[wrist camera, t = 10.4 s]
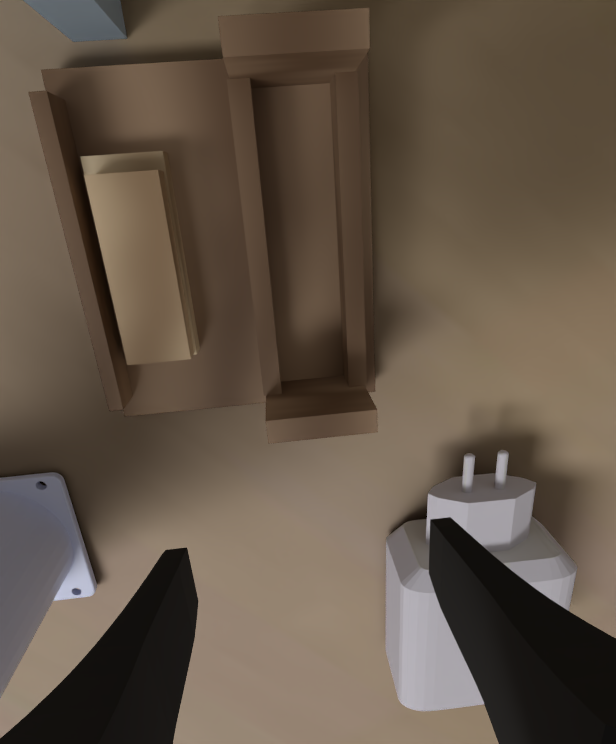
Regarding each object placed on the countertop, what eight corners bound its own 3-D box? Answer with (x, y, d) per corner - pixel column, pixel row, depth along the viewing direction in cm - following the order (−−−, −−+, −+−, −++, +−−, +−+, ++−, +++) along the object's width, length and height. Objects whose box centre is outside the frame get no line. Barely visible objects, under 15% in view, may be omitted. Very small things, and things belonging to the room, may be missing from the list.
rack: (130, 407, 22) (94, 461, 18) (53, 77, 17) (-27, 29, 13) (370, 383, 23) (397, 430, 18) (362, 57, 18) (396, 6, 13)
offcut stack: (132, 354, 20) (120, 368, 19) (88, 158, 17) (70, 154, 16) (199, 348, 20) (193, 361, 19) (167, 153, 18) (156, 147, 16)
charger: (548, 421, 25) (518, 622, 30) (382, 437, 24) (382, 638, 30) (608, 469, 20) (561, 695, 26) (408, 489, 20) (402, 715, 25)
